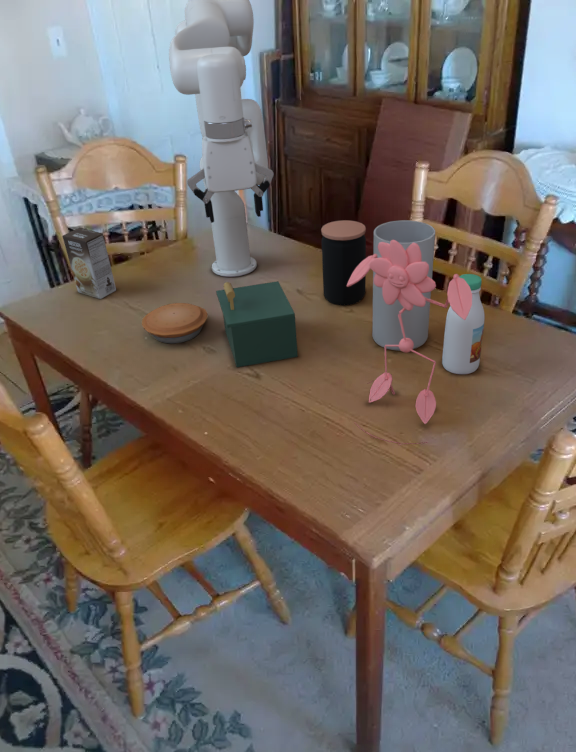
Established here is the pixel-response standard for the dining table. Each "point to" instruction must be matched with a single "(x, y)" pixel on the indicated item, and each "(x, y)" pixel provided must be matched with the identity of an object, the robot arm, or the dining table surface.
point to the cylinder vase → (387, 315)
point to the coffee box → (89, 262)
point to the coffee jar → (343, 261)
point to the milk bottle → (464, 333)
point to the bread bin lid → (253, 303)
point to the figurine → (408, 305)
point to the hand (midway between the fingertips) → (235, 217)
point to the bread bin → (263, 341)
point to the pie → (175, 322)
